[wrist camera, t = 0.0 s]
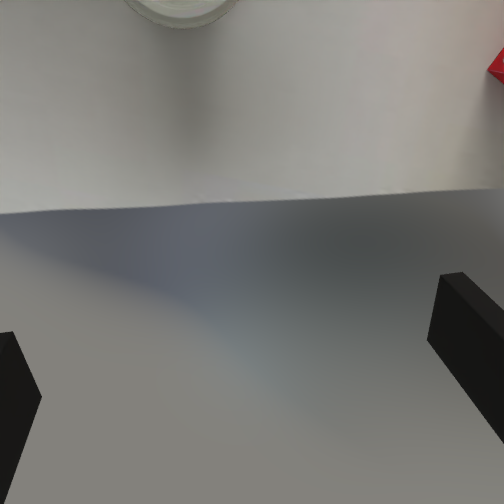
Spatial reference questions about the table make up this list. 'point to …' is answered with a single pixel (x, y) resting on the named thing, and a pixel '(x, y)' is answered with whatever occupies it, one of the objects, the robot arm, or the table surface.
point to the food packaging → (498, 67)
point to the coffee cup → (182, 11)
